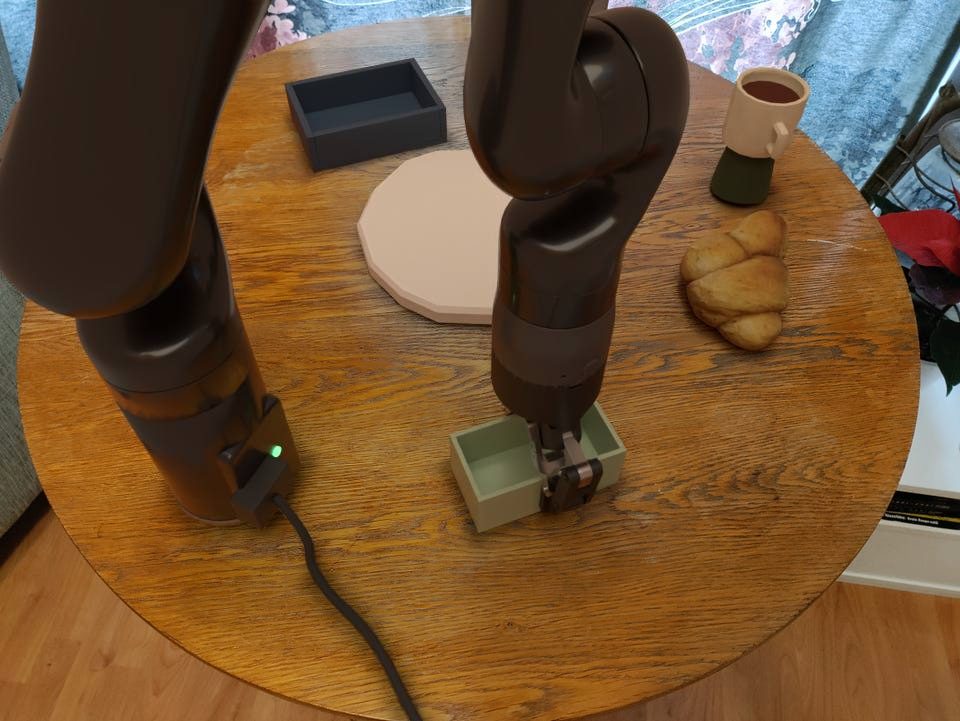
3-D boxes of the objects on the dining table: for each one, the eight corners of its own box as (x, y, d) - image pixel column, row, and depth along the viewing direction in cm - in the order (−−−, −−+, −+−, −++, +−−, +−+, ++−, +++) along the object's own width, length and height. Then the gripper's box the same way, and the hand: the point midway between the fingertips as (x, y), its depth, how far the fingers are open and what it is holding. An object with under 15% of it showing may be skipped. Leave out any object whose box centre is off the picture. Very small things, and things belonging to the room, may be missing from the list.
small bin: (583, 424, 65) (590, 388, 61) (617, 483, 61) (627, 450, 57) (450, 468, 62) (449, 434, 58) (478, 533, 58) (478, 502, 55)
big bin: (416, 91, 97) (414, 57, 93) (447, 142, 90) (446, 107, 87) (291, 117, 93) (283, 83, 90) (313, 172, 86) (306, 137, 83)
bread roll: (792, 362, 69) (823, 301, 63) (684, 357, 70) (705, 296, 63) (765, 263, 77) (791, 201, 71) (669, 260, 78) (686, 197, 71)
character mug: (785, 222, 81) (829, 115, 71) (720, 226, 81) (756, 119, 71) (752, 160, 88) (789, 54, 78) (692, 163, 88) (721, 57, 78)
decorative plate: (364, 132, 84) (589, 133, 84) (368, 164, 87) (585, 164, 88) (340, 298, 68) (616, 297, 69) (346, 328, 72) (609, 328, 72)
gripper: (455, 275, 52) (460, 417, 65) (543, 443, 43) (528, 567, 56) (556, 248, 53) (540, 391, 66) (660, 404, 45) (618, 533, 58)
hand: (535, 471), depth 61 cm, fingers closed on small bin, 6 cm apart
